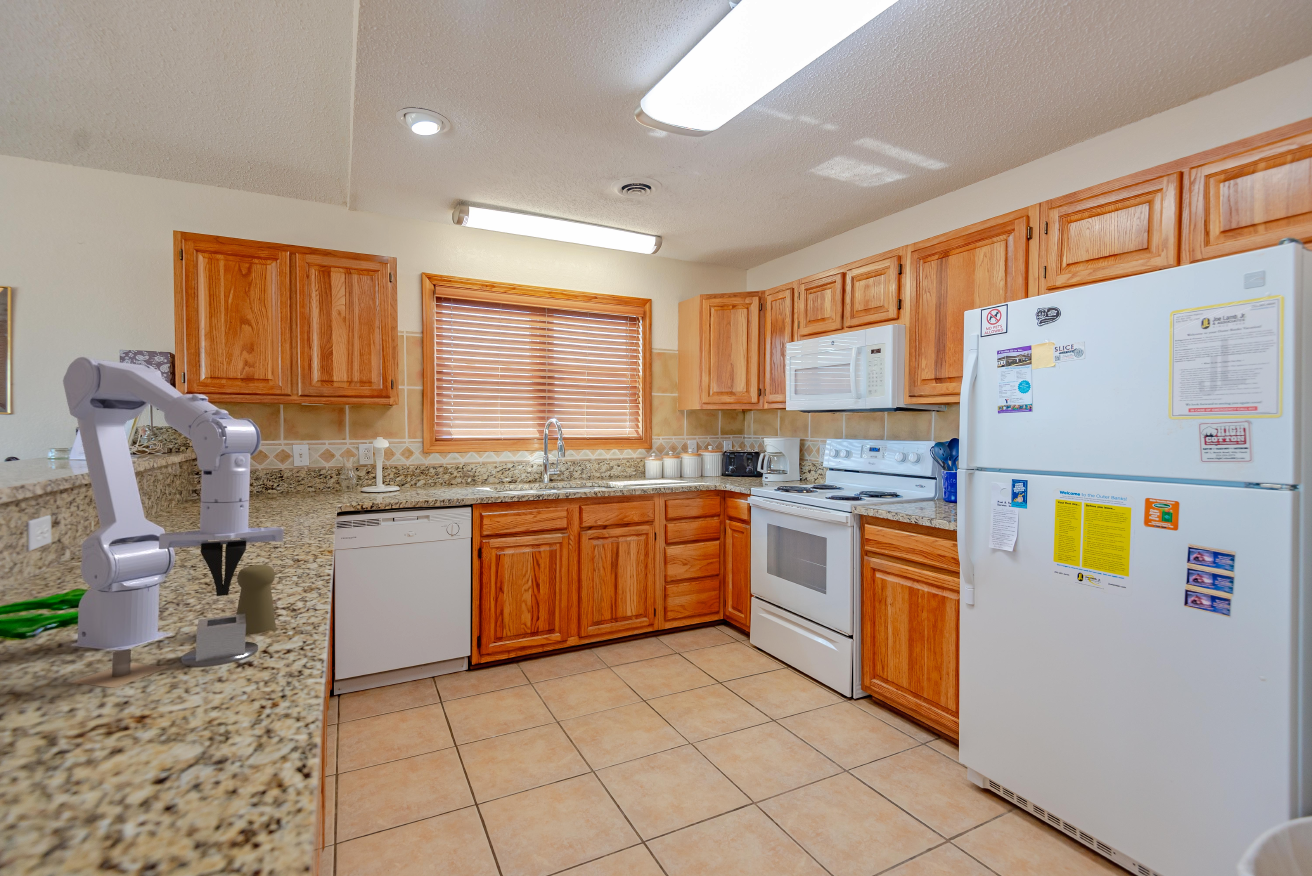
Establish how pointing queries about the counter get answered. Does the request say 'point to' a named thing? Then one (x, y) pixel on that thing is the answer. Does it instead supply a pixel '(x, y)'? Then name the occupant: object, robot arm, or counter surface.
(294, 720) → the counter surface
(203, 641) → the square metal tube
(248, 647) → the hub
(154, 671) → the stand
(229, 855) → the counter surface
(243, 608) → the cork
